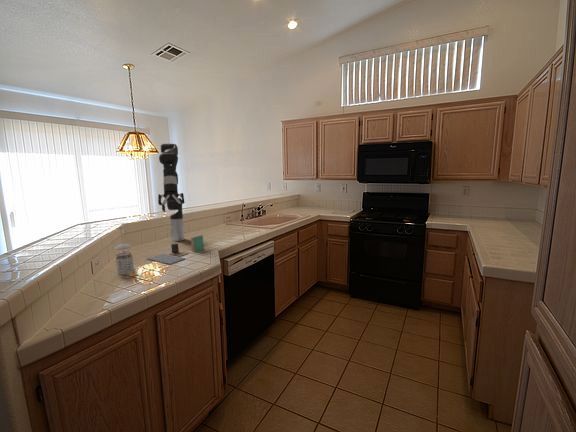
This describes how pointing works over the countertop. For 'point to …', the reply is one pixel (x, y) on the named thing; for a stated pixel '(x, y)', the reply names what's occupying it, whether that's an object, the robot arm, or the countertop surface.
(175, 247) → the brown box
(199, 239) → the tile
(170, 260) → the mat
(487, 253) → the countertop surface
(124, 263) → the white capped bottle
